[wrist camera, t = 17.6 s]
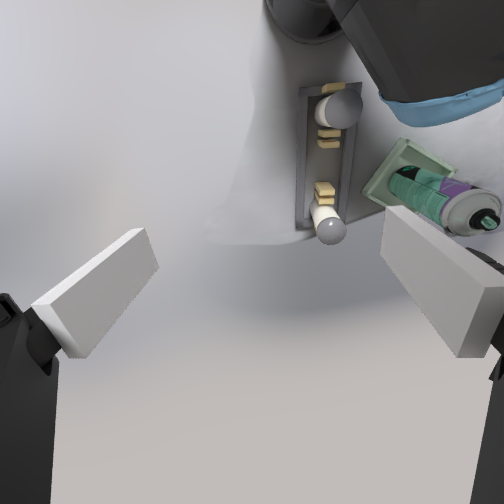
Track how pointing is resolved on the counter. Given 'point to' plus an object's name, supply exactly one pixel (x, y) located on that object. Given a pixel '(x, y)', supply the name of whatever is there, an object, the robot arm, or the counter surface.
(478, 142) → the counter surface
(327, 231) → the fuse
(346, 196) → the fuse frame
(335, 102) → the fuse
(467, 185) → the spray can
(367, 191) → the tray
